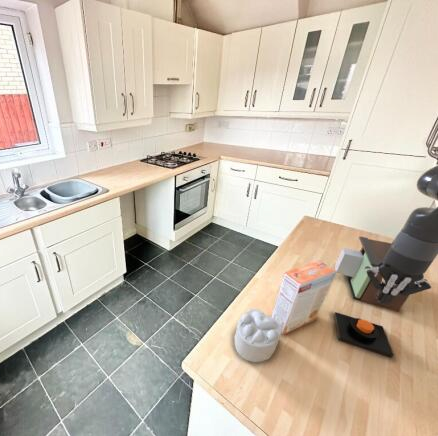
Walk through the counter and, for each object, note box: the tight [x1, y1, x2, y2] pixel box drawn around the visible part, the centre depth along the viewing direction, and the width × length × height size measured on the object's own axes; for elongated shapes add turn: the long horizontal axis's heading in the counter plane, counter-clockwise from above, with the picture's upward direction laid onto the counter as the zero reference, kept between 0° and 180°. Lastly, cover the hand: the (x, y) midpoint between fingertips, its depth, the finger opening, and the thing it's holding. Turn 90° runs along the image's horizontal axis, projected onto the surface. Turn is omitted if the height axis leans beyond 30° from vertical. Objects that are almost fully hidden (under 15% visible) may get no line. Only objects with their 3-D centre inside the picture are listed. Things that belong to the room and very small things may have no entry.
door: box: [334, 247, 374, 298], centre depth 87 cm, size 7×12×14 cm, turn 153°
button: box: [356, 318, 374, 334], centre depth 71 cm, size 4×4×2 cm
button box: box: [333, 311, 394, 359], centre depth 72 cm, size 12×10×4 cm
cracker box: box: [270, 260, 337, 335], centre depth 73 cm, size 14×6×21 cm, turn 111°
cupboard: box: [345, 236, 410, 312], centre depth 86 cm, size 12×18×16 cm
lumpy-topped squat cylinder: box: [234, 308, 283, 363], centre depth 69 cm, size 10×13×9 cm
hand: (381, 301), depth 66 cm, fingers closed
